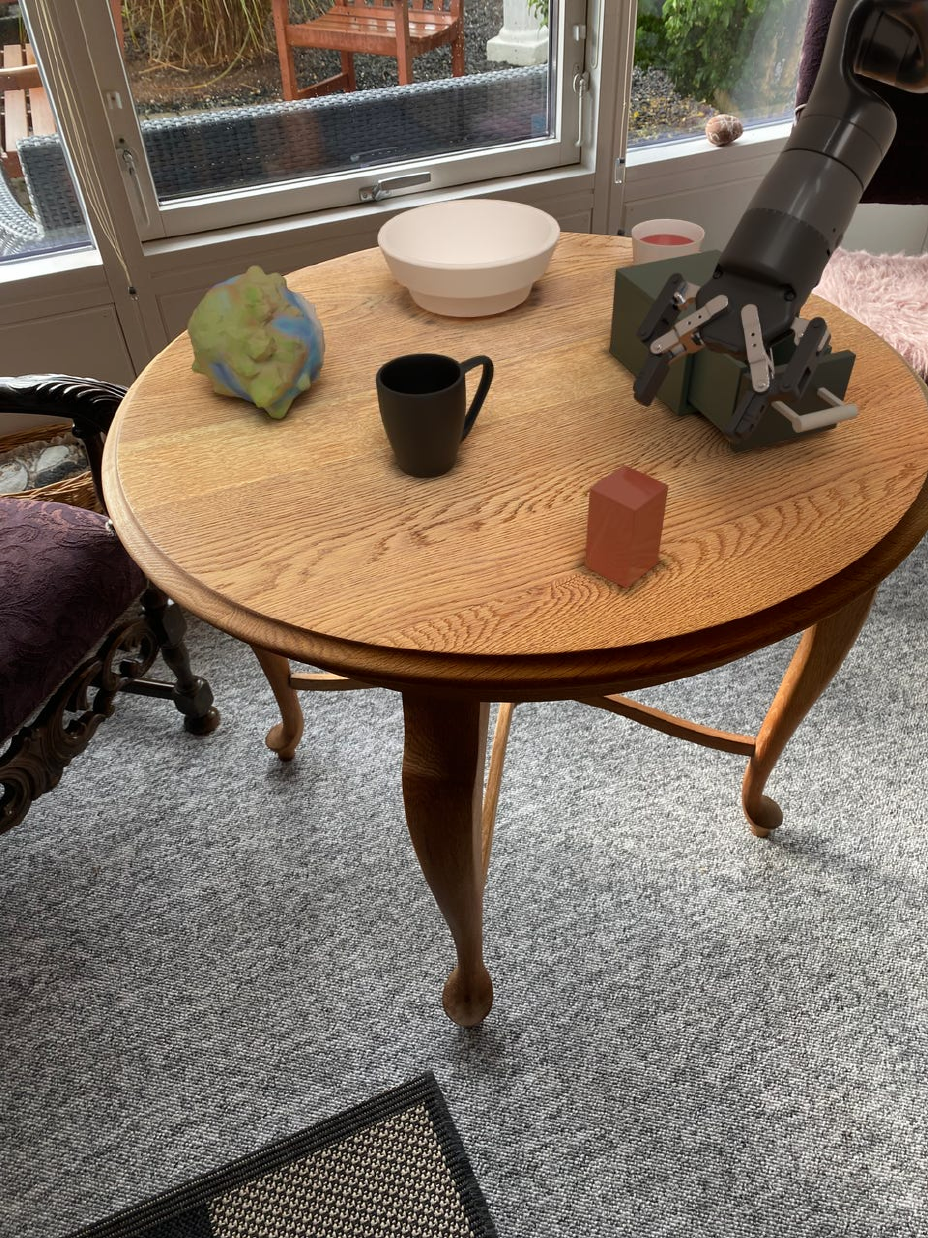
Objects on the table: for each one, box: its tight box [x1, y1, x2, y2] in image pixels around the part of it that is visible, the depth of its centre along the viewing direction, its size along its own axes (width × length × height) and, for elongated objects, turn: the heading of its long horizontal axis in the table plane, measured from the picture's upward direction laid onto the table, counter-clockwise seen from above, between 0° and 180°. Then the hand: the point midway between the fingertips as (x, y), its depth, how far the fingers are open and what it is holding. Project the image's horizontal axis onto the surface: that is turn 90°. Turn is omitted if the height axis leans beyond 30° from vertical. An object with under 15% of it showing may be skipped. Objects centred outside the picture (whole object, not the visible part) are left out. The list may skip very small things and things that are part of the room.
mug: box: [375, 352, 495, 479], centre depth 85 cm, size 8×12×10 cm
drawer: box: [687, 333, 859, 455], centre depth 87 cm, size 19×11×8 cm, turn 20°
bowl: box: [377, 198, 561, 318], centre depth 112 cm, size 22×22×8 cm
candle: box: [630, 218, 706, 266], centre depth 114 cm, size 9×9×6 cm
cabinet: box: [608, 248, 802, 417], centre depth 96 cm, size 16×13×10 cm
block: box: [583, 464, 669, 589], centre depth 73 cm, size 4×4×8 cm
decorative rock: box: [186, 264, 327, 419], centre depth 93 cm, size 14×16×15 cm
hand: (683, 420), depth 71 cm, fingers open, 8 cm apart
